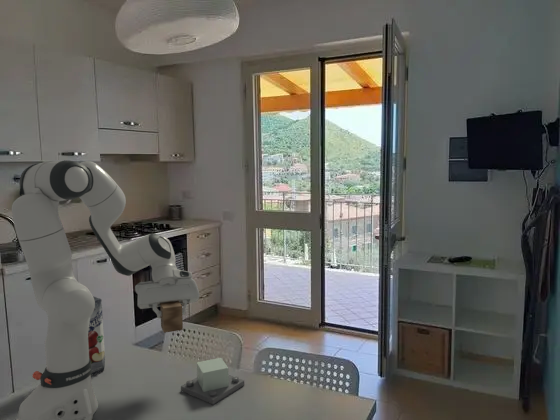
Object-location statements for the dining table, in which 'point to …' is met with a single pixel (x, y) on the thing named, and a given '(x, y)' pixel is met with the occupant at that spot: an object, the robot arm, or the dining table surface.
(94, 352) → the juice carton
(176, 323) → the walnut brick
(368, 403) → the dining table surface
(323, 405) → the dining table surface
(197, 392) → the baseplate
